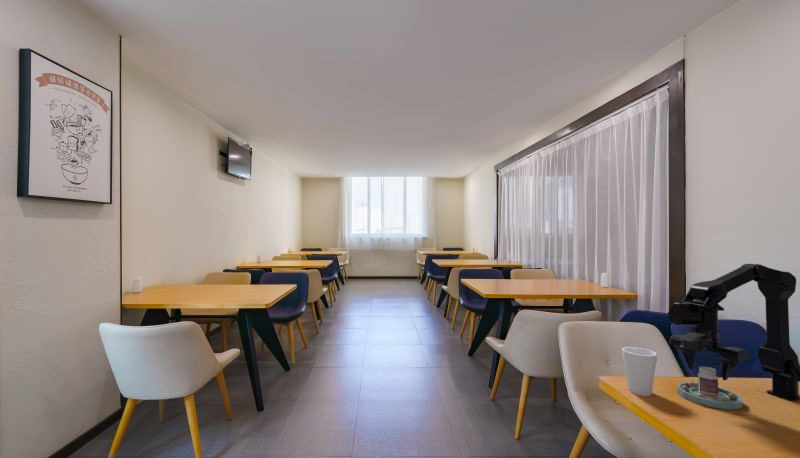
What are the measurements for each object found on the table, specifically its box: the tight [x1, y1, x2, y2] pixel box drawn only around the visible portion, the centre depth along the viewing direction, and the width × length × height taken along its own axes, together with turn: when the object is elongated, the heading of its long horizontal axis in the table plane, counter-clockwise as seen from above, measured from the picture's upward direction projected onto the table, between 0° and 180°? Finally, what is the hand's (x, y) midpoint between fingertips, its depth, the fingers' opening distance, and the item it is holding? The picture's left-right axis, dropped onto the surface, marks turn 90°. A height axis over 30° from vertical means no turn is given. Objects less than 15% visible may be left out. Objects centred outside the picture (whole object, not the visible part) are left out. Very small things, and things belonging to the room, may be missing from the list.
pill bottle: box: [697, 365, 719, 399], centre depth 109 cm, size 5×5×8 cm
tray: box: [676, 381, 743, 411], centre depth 108 cm, size 15×15×3 cm
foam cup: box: [621, 346, 658, 397], centre depth 113 cm, size 10×9×13 cm
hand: (707, 374), depth 109 cm, fingers open, 9 cm apart
